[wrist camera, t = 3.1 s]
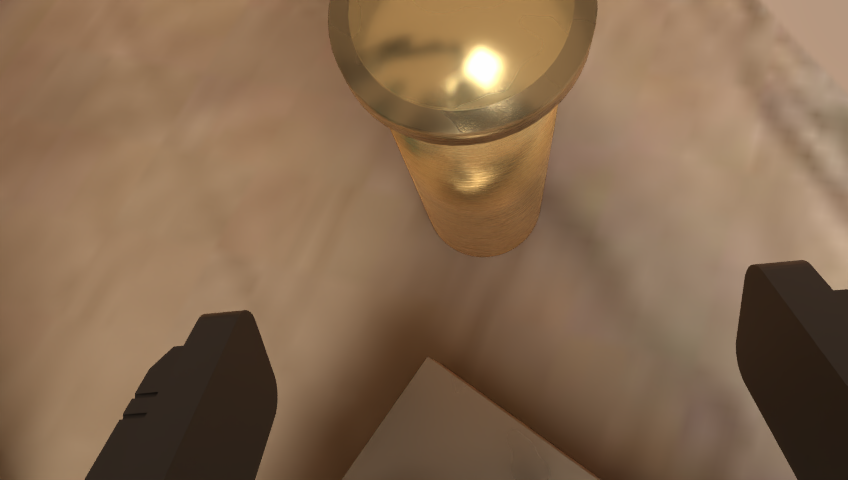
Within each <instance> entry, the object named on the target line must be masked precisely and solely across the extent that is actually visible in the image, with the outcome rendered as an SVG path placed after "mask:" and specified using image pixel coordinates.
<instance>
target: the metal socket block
mask: <svg viewBox="0 0 848 480" xmlns="http://www.w3.org/2000/svg"><path fill="white" fill-rule="evenodd" d="M342 480H601V479H600V478H598V477H597V476H596V475H594V474H593V473H591V472H590V471H589V470H587V469H586V468H585V467H583V466H582V465H580V464H579V463H578V462H576V461H575V460H573V459H572V458H571V457H569V456H568V455H567V454H565V453H564V452H562V451H561V450H560V449H558V448H557V447H556V446H554V445H553V444H551V443H550V442H549V441H547V440H546V439H544V438H543V437H542V436H540V435H539V434H538V433H536V432H535V431H533V430H532V429H531V428H529V427H528V426H527V425H525V424H524V423H522V422H521V421H520V420H518V419H517V418H515V417H514V416H513V415H511V414H510V413H509V412H507V411H506V410H504V409H503V408H502V407H500V406H499V405H498V404H496V403H495V402H493V401H492V400H491V399H489V398H488V397H486V396H485V395H484V394H482V393H481V392H480V391H478V390H477V389H475V388H474V387H473V386H471V385H470V384H468V383H467V382H466V381H464V380H463V379H462V378H460V377H459V376H457V375H456V374H455V373H453V372H452V371H451V370H449V369H448V368H446V367H445V366H444V365H442V364H441V363H439V362H437V361H435V360H433V359H431V358H429V357H427V358H426V360H425V361H424V362H423V364H422V365H421V367H420V368H419V370H418V371H417V373H416V374H415V375H414V377H413V378H412V380H411V381H410V383H409V384H408V385H407V387H406V388H405V390H404V391H403V393H402V394H401V395H400V397H399V398H398V400H397V401H396V403H395V404H394V405H393V407H392V408H391V410H390V411H389V413H388V414H387V416H386V417H385V418H384V420H383V421H382V423H381V424H380V426H379V427H378V428H377V430H376V431H375V433H374V434H373V436H372V437H371V438H370V440H369V441H368V443H367V444H366V446H365V447H364V448H363V450H362V451H361V453H360V454H359V456H358V457H357V459H356V460H355V461H354V463H353V464H352V466H351V467H350V469H349V470H348V471H347V473H346V474H345V476H344V477H343V479H342Z"/></svg>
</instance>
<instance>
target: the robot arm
mask: <svg viewBox="0 0 848 480" xmlns="http://www.w3.org/2000/svg"><path fill="white" fill-rule="evenodd" d="M736 355H737V361H738V366H739V370H740V373H741V376H742V378H743V381H744V383H745V385H746V386H747V388H748V390H749V392H750V394H751V396H752V397H753V399H754V401H755V403H756V405H757V406H758V408H759V410H760V412H761V414H762V416H763V417H764V419H765V421H766V423H767V425H768V427H769V428H770V430H771V432H772V434H773V436H774V437H775V439H776V441H777V443H778V445H779V447H780V448H781V450H782V452H783V454H784V456H785V458H786V459H787V461H788V463H789V465H790V467H791V469H792V470H793V472H794V474H795V476H796V478H797V479H798V480H848V290H847V289H845V290H834V291H833V290H832V289H831V287H830V286H829V285H828V284H827V283H826V282H825V280H824V279H823V278H822V277H821V276H820V275H819V274H818V272H817V271H816V270H815V269H814V268H813V267H812V265H811V264H809V263H808V262H807V261H804V260H798V261H787V262H777V263H766V264H755V265H751V266H749V268H748V269H747V271H746V274H745V280H744V287H743V294H742V302H741V309H740V316H739V324H738V331H737V338H736ZM276 409H277V384H276V379H275V376H274V373H273V370H272V367H271V364H270V361H269V358H268V356H267V353H266V350H265V347H264V344H263V341H262V338H261V335H260V333H259V330H258V327H257V324H256V321H255V319H254V317H253V315H252V314H251V312H249V311H247V310H243V311H232V312H222V313H211V314H203V315H202V316H201V317H200V318H199V319H198V321H197V322H196V324H195V326H194V328H193V330H192V332H191V333H190V335H189V337H188V339H187V341H186V343H185V344H184V346H176V347H173V348H172V349H171V350H170V351H169V352H167V353H166V354H165V355H164V356H163V357H162V358H161V359H160V360H159V361H158V362H157V363H155V364H154V365H153V366H152V367H151V368H150V369H149V371H148V372H147V374H146V376H145V377H144V379H143V381H142V383H141V384H140V386H139V388H138V389H137V391H136V393H135V399H132V400H131V401H130V403H129V405H128V406H127V408H126V410H125V411H124V413H123V420H119V422H118V423H117V425H116V427H115V428H114V430H113V432H112V434H111V435H110V437H109V439H108V440H107V442H106V444H105V446H104V447H103V449H102V451H101V452H100V454H99V456H98V457H97V459H96V461H95V463H94V464H93V466H92V468H91V469H90V471H89V473H88V474H87V476H86V478H85V480H255V478H256V475H257V471H258V468H259V465H260V462H261V459H262V456H263V452H264V449H265V446H266V443H267V440H268V437H269V433H270V430H271V427H272V424H273V421H274V418H275V414H276Z"/></svg>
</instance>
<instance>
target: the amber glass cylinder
mask: <svg viewBox="0 0 848 480" xmlns="http://www.w3.org/2000/svg"><path fill="white" fill-rule="evenodd" d="M596 17H597V0H330V4H329V15H328V27H329V38H330V42H331V47H332V51H333V54H334V56H335V59H336V62H337V64H338V66H339V68H340V70H341V72H342V74H343V76H344V78H345V80H346V82H347V84H348V85H349V87H350V89H351V91H352V93H353V94H354V96H355V97H356V98H357V100H358V101H359V102H360V103H361V105H362V106H363V107H364V108H365V109H366V110H367V111H368V112H369V113H370V114H371V115H372V116H373V117H374V118H376V119H377V120H379V121H380V122H381V123H383V124H384V125H385V126H387V127H389V128H390V129H391V132H392V134H393V136H394V139H395V141H396V143H397V145H398V148H399V150H400V152H401V154H402V157H403V159H404V161H405V164H406V166H407V168H408V170H409V173H410V175H411V177H412V180H413V182H414V184H415V186H416V189H417V191H418V193H419V196H420V198H421V200H422V202H423V205H424V207H425V209H426V211H427V214H428V216H429V218H430V221H431V223H432V225H433V227H434V229H435V231H436V232H437V234H438V235H439V236H440V238H441V239H442V240H443V241H444V242H445V243H446V244H448V245H449V246H450V247H452V248H453V249H455V250H457V251H459V252H461V253H464V254H467V255H470V256H476V257H490V256H496V255H500V254H503V253H506V252H508V251H510V250H512V249H514V248H516V247H517V246H518V245H520V244H521V243H522V242H523V241H524V240H525V239H526V238H527V237H528V236H529V234H530V233H531V232H532V230H533V228H534V227H535V225H536V222H537V220H538V217H539V213H540V208H541V202H542V196H543V190H544V184H545V178H546V172H547V166H548V161H549V155H550V149H551V143H552V137H553V131H554V125H555V119H556V114H557V108H558V104H559V103H560V102H561V101H562V100H563V98H564V97H565V96H566V95H567V93H568V92H569V91H570V90H571V89H572V87H573V85H574V84H575V82H576V80H577V79H578V77H579V76H580V74H581V72H582V69H583V67H584V65H585V62H586V60H587V57H588V53H589V50H590V46H591V42H592V38H593V34H594V29H595V25H596Z"/></svg>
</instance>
